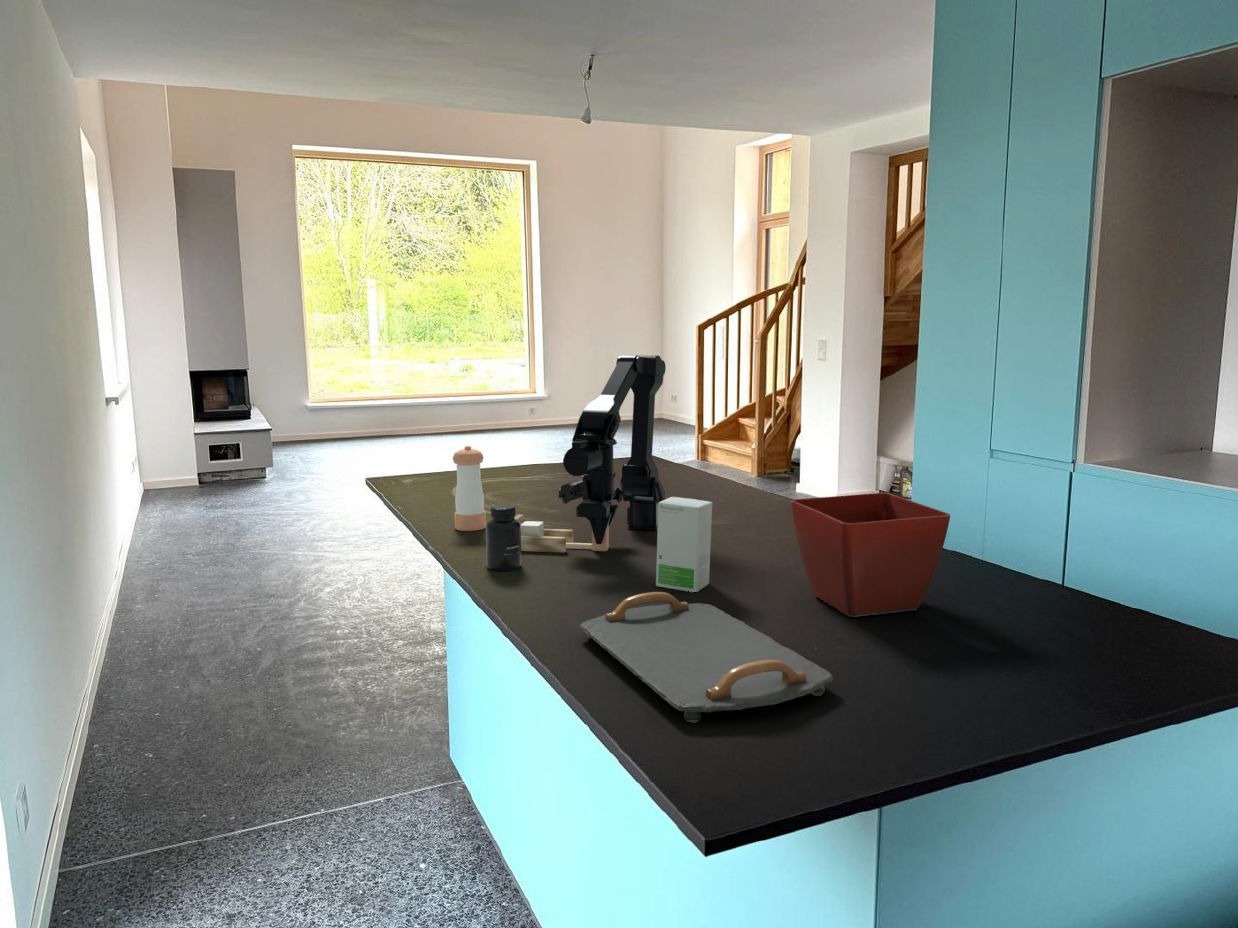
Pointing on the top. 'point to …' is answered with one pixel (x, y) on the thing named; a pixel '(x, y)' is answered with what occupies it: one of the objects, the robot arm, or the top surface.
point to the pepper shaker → (469, 491)
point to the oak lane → (546, 539)
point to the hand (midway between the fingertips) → (600, 541)
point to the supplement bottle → (503, 539)
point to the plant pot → (869, 550)
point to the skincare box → (683, 544)
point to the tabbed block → (538, 530)
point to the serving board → (702, 656)
